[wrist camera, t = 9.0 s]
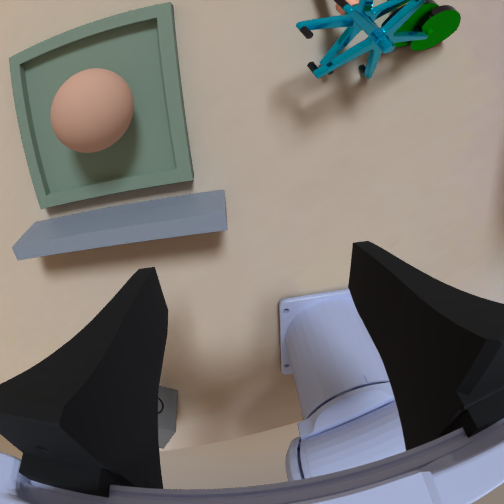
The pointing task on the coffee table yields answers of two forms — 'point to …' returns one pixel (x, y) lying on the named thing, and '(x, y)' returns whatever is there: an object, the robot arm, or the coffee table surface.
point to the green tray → (144, 115)
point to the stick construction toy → (381, 30)
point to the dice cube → (166, 414)
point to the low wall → (125, 224)
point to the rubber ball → (92, 110)
